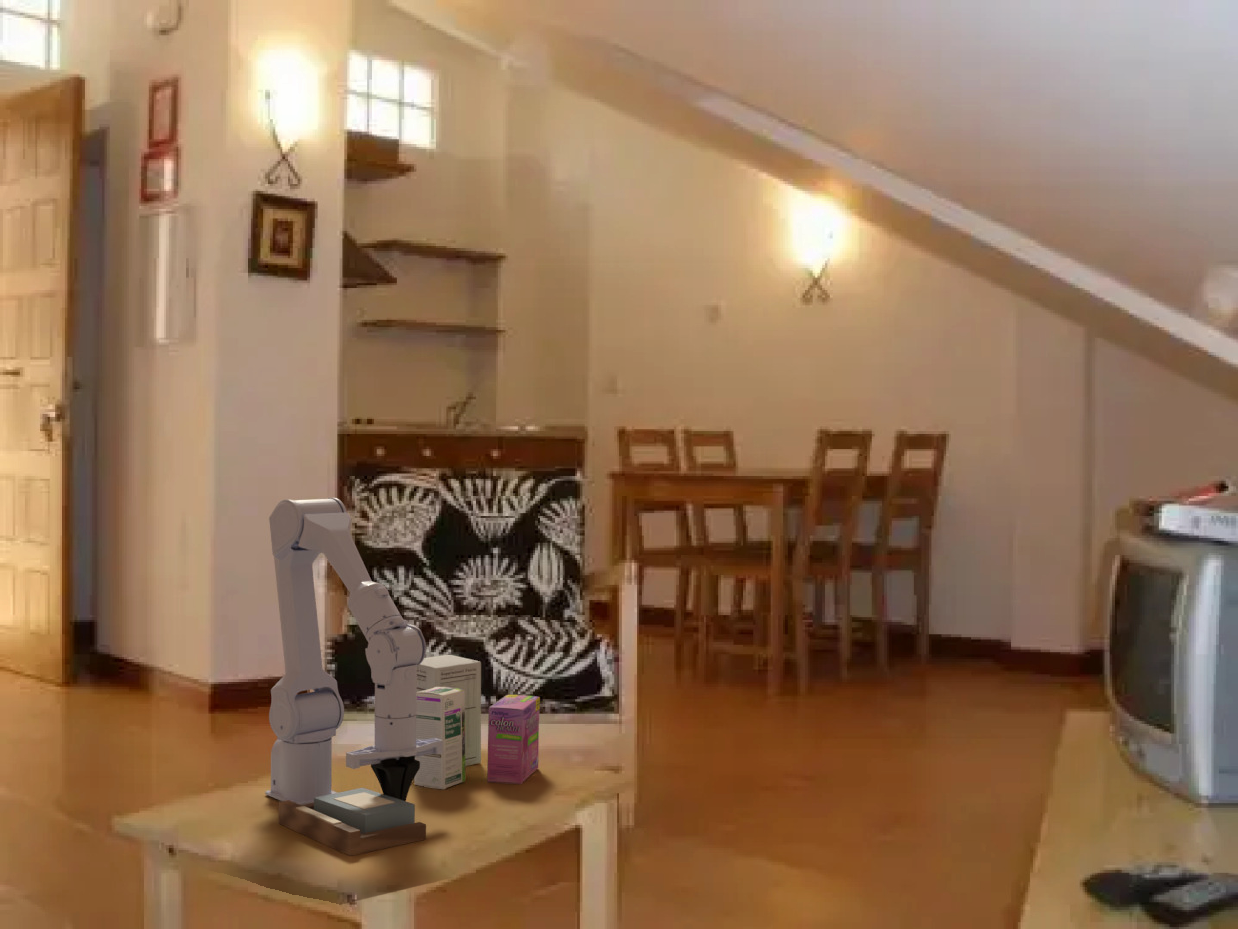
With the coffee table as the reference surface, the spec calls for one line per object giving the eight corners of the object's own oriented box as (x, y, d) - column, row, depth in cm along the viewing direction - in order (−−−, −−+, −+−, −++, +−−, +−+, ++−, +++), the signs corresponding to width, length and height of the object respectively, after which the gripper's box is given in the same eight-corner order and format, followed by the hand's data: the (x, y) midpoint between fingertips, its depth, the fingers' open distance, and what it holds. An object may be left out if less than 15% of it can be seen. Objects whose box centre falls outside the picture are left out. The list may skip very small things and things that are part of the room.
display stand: (278, 823, 196) (278, 800, 196) (351, 809, 204) (352, 787, 204) (350, 856, 182) (350, 831, 182) (425, 839, 190) (426, 815, 190)
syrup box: (443, 790, 215) (444, 694, 215) (412, 785, 218) (413, 690, 218) (465, 782, 220) (466, 688, 220) (434, 777, 223) (435, 685, 223)
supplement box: (449, 753, 239) (450, 653, 239) (482, 763, 233) (483, 660, 232) (401, 762, 233) (402, 659, 232) (434, 772, 226) (435, 667, 226)
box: (522, 785, 219) (523, 708, 219) (486, 782, 220) (487, 706, 220) (539, 769, 229) (540, 696, 229) (505, 767, 230) (506, 694, 230)
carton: (313, 830, 195) (313, 797, 195) (362, 819, 200) (362, 787, 200) (365, 849, 186) (365, 814, 186) (414, 837, 192) (414, 803, 192)
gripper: (365, 726, 189) (364, 828, 190) (455, 712, 199) (454, 809, 199) (338, 717, 195) (337, 816, 195) (427, 704, 204) (426, 799, 205)
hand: (395, 812), depth 198 cm, fingers closed
